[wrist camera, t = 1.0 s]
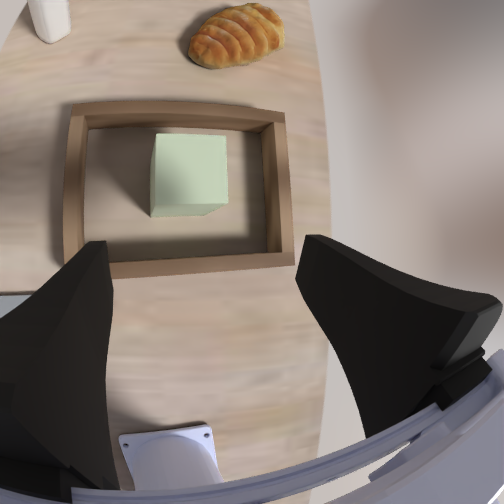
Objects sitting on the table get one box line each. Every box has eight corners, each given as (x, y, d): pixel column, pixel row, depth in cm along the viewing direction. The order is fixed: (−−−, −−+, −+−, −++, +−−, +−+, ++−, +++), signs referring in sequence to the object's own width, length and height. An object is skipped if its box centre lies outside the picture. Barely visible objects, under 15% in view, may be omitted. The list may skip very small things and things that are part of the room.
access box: (279, 263, 24) (294, 265, 22) (73, 278, 18) (65, 282, 16) (270, 123, 24) (284, 112, 21) (78, 118, 18) (73, 104, 15)
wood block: (203, 215, 22) (228, 203, 16) (150, 217, 20) (155, 204, 15) (202, 163, 22) (225, 135, 16) (150, 163, 20) (156, 133, 15)
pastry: (218, 91, 22) (232, 67, 19) (168, 45, 20) (175, 18, 17) (283, 50, 25) (301, 30, 21) (238, 11, 23) (252, -11, 19)
